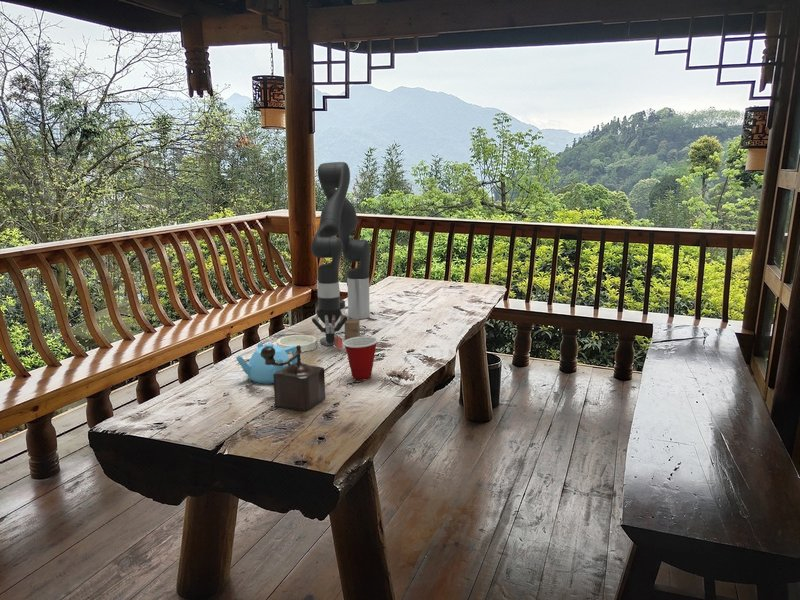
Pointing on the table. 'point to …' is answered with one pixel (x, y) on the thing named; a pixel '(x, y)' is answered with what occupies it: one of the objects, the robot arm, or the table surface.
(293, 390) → the coffee grinder
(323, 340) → the base
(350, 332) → the block
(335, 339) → the crank
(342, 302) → the jar
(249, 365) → the teapot
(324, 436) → the table surface
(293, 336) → the dish
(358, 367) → the plastic cup
